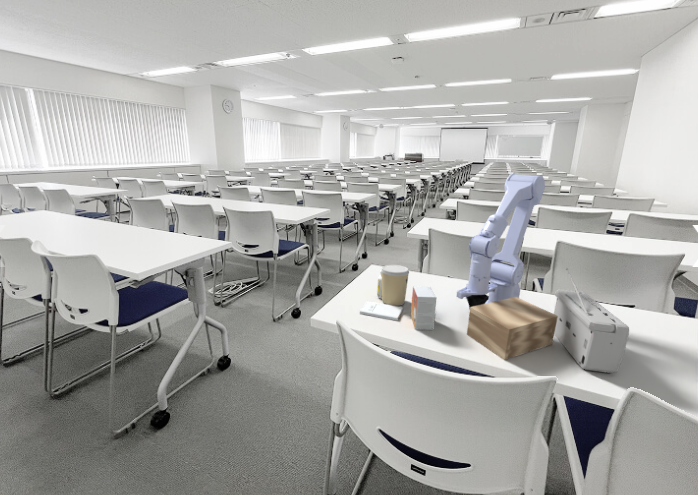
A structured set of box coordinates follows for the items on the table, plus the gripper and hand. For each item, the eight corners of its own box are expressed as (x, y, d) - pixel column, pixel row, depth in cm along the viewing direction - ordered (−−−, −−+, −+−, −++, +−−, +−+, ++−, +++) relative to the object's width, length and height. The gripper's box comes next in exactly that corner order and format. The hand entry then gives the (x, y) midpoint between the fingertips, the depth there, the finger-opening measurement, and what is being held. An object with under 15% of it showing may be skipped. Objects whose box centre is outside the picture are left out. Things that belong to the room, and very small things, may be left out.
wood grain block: (511, 322, 101) (516, 296, 98) (551, 344, 89) (557, 315, 87) (466, 334, 94) (470, 307, 91) (504, 359, 82) (509, 329, 80)
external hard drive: (397, 322, 101) (359, 315, 105) (402, 311, 108) (367, 304, 112) (397, 317, 100) (359, 310, 105) (403, 306, 108) (367, 300, 112)
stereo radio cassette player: (619, 377, 76) (641, 299, 71) (580, 373, 78) (599, 295, 72) (575, 331, 96) (590, 267, 91) (545, 328, 98) (558, 265, 92)
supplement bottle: (395, 297, 117) (396, 270, 115) (385, 301, 113) (387, 274, 111) (383, 292, 121) (384, 267, 118) (374, 296, 117) (375, 270, 115)
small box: (410, 316, 103) (412, 285, 101) (428, 317, 103) (430, 286, 100) (414, 329, 96) (417, 296, 93) (433, 330, 96) (436, 297, 93)
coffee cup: (412, 305, 111) (414, 271, 108) (387, 308, 108) (389, 273, 105) (398, 295, 119) (400, 263, 116) (375, 297, 116) (376, 265, 113)
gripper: (487, 267, 105) (481, 306, 109) (451, 273, 99) (447, 314, 103) (505, 275, 99) (498, 315, 103) (468, 281, 93) (463, 324, 97)
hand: (474, 315), depth 103 cm, fingers closed
